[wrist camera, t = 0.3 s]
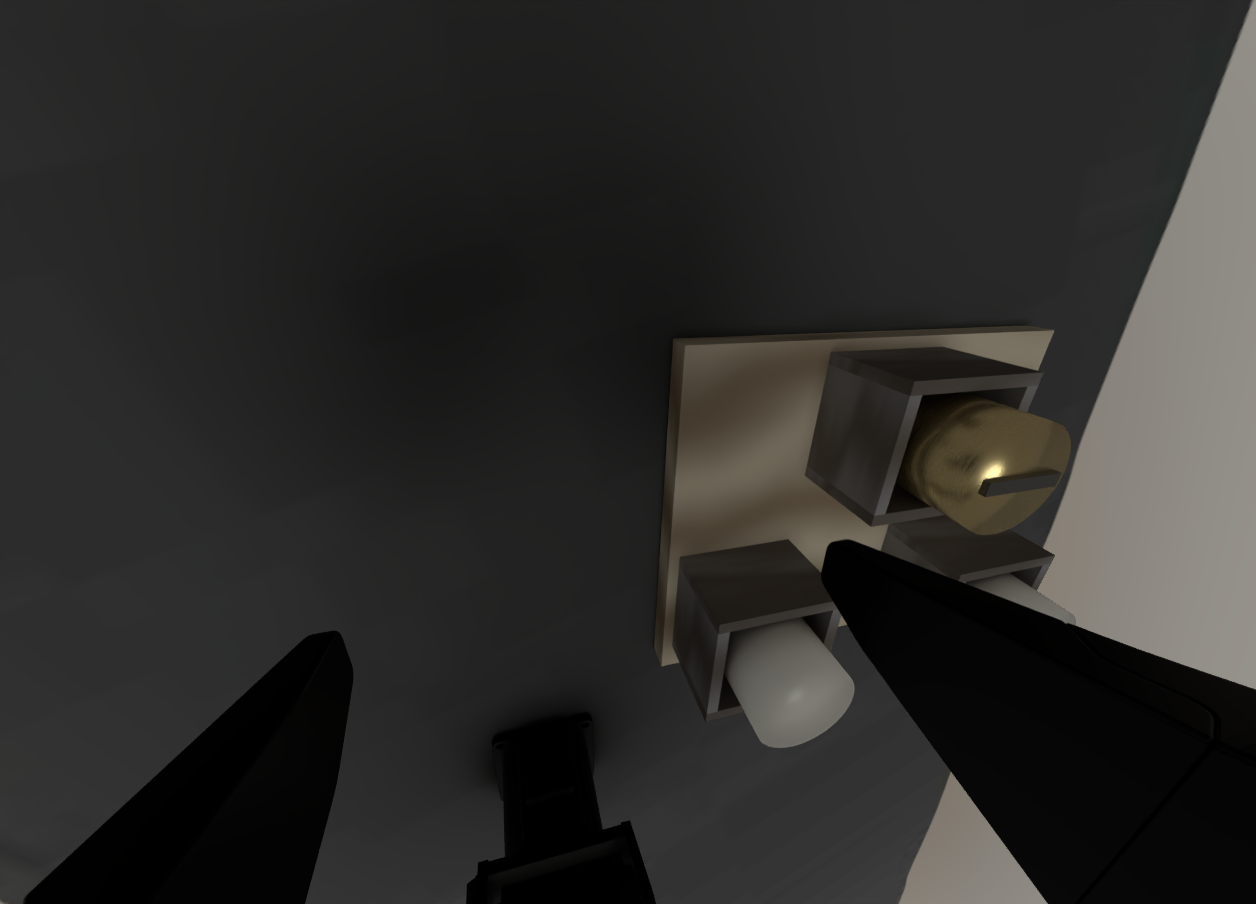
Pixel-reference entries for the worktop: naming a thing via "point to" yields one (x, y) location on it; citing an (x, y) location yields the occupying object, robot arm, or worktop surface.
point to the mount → (812, 477)
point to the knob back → (1022, 595)
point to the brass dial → (982, 460)
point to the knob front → (786, 682)
